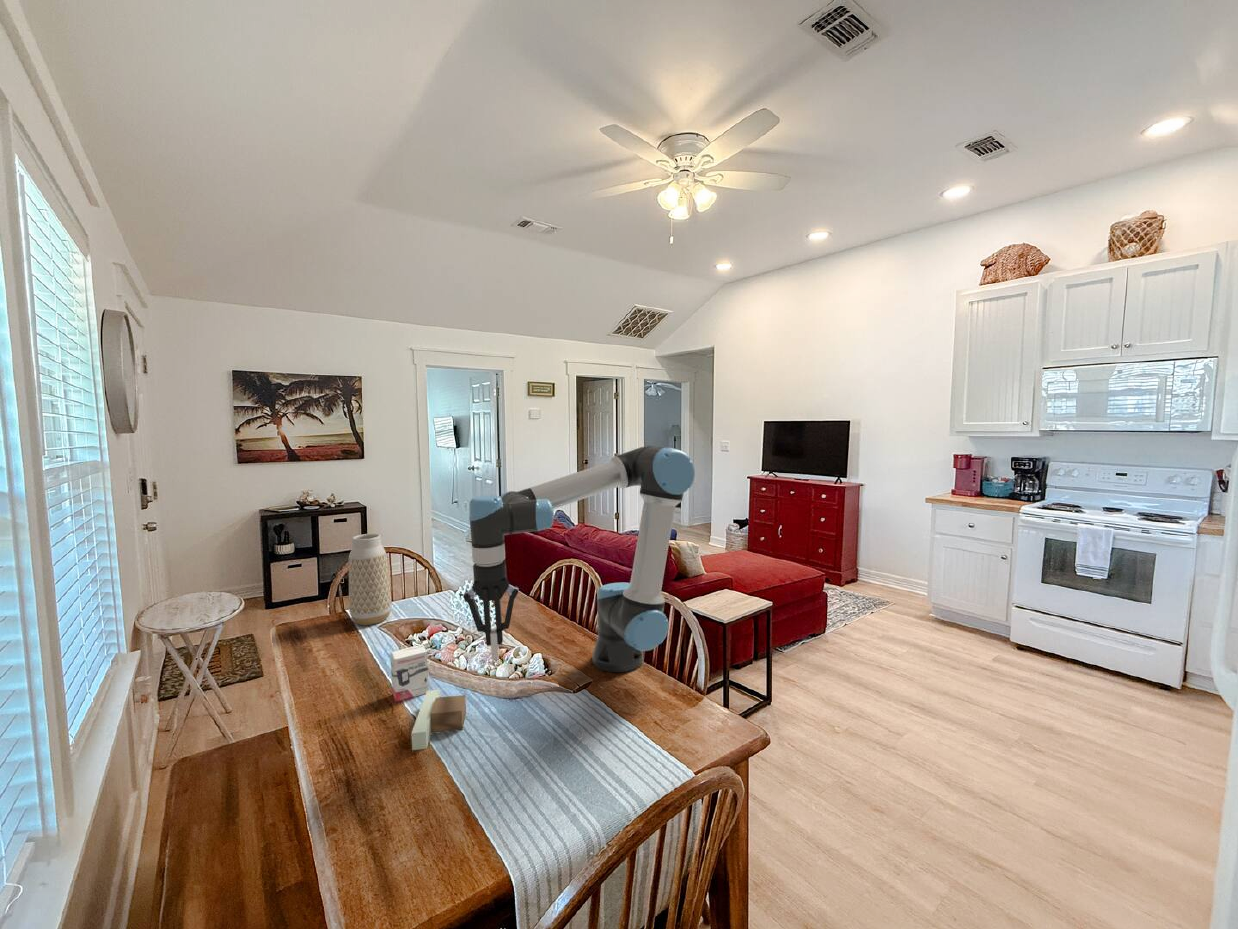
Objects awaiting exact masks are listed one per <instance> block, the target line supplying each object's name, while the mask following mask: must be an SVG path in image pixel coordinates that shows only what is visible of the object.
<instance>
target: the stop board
mask: <svg viewBox="0 0 1238 929" xmlns="http://www.w3.org/2000/svg"><path fill="white" fill-rule="evenodd" d="M440 695H441V694H440V689H434V690H433V689H431V690H429V691H427V692H426V694H424V697H423V701H422V703H421V705H420V709H419V712H418V715H417V716H416V717H417V718H416V719H415V722H414V725H413V728H412V731H411V750H412V751H417V750H419V751H420V750H425V749H428V745H429V742H430V739H431V735H432V733H431V716H430V713H431V711H432V708H433V705H434V702H435V699H436V698H438V697H441V696H440Z"/></svg>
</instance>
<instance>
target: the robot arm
mask: <svg viewBox="0 0 1238 929" xmlns="http://www.w3.org/2000/svg"><path fill="white" fill-rule="evenodd" d="M695 474H696V473H695V467H694V463H693V461H692V460H691V458H690V456H689V455H688V454H687V453H686V452H684V451H682V450H680V449H678V448H673V447H665V446H664V447H662V446H655V445H645V446H641V447H638V448H634V449H632V450H629V451H626V452H624V453H621V454H618V455H615V456H613V457H611V459H610V461H608V462H605V463H603V464H602V463H601V464H598V465H595V466H592V467H589V468H586V469H583V470H581V471H577V472H573V473H571V474H568V475H566V476H562V477H559V478H555V479H553V480H549V481H547V482H543V483H540V484H537V485H534V486H531V487H528V488H525V489H521V490H519V491H515V490H514V491H512V490H511V491H506V492H504V493H502V494H501V495H495V494H494V495H480V496H475V497H473V498H471V500H470V501H469V517H468V519H469V526H470V528H469V529H470V538H471V539H470V540H471V554H472V555H471V556H472V562H473V565H472V569H473V570H472V572H473V584H472V587H471V589H468V590H465V591H464V593H463V599H464V600H465V602H466V603H467V604H468V607H469V609H470V613H471V616H472V618H473V621H474V622H473V623H474V624H475V625H474V626H475V627H476V632H478V633H480V632H483V633H484V634H485V644H486V646H487V647H489V646H490V648H491V661H495V660H496V661H497V660H498V661H499V658H500V648H499V645H503V641H504V637H503V631H504V630H509V628H510V623H511V620H512V613H513V608H514V601H515V599H516V598H517V595H518V594H519V587H518V586H516V585H515V586H513V585H512V584H510V581H509V580H508V577H507V575H508V574H507V564H506V563H507V562H506V560H505V559H506V546H505V536H508V535H509V536H510V535H514V534H523V533H529V532H540V531H544V530H549V529H551V528H552V527H553V524H554V519H555V517H554V516H555V515H554V510H555V509H557V508H560V507H565V506H567V505H570V504H572V503H575V502H578V501H581V500H583V499H587V498H590V497H593V496H595V495H599V494H601V493H604V492H607V491H610V490H613V489H616V488H620V489H622V490H625V489H627V488H629V487H634V486H635V487H637V486H640V489H639V495H640V496H641V498H642V500H643V504H642V511H641V516H640V517H641V518H640V523H639V528H638V529H639V530H638V536H637V541H636V547H635V553H634V559H633V565H632V571H631V576H630V581H629V582H623V581H622V582H612V583H607V584H604V585H601V586H600V587H599V588H598V590H597V596H596V601H597V602H596V603H597V604H596V606H597V607H596V608H597V611H596V612H597V638H596V642H595V643H594V648H593V650H592V664H593V665H594V666H595V667H596V668H597V669H598V670H599V669H600V670H602V671H605V672H609V673H625V672H631V671H634V670H636V669H638V668H639V667H641V666H642V665H643V664H644V652H648V651H652V650H654V649H656V648H657V647H659V645H661V644H662V643H663V642H664V640H665V639H666V638H667V635H668V633H669V629H670V627H669V626H670V625H669V624H670V623H669V620H668V618H667V616H666V614H665V613H664V611H665V610H664V609H665V602H666V599H665V597H664V596H663V595H662V587H663V581H664V577H665V576H664V575H665V569H666V565H667V564H666V563H667V557H668V552H669V551H668V550H669V546H670V540H671V534H672V527H673V522H674V517H675V516H674V515H675V510H676V506H678V505H679V504H680V503H681V502H682V501H683V497H684V493H686V492H687V491H688V489H689V488H690V489H691V487H692V485H693V483H694V481H695ZM506 592H507V594H508V596H509V597H508V603H507V607H506V611H505V612H506V613H505V618H504V622H503V621H502V620H503V619H502V605H501V604H502V603H501V601H502V600H501V599H502V598H503V596H504V595H505V594H506ZM476 595H477V597H478V598H479V599H480V600H482V604H483V605H482V606H483V619H484V621H482V617H481V616H482V615H481V614H480V610H479V608H478V605H477V602H476V600H475V596H476ZM490 601H491V602H494V603H493V604H494V613H495V614H494V615H495V627H496V628H492V621H491V606H490V605H491V604H490ZM483 622H484V623H483Z"/></svg>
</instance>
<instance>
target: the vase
mask: <svg viewBox="0 0 1238 929" xmlns="http://www.w3.org/2000/svg"><path fill="white" fill-rule="evenodd" d="M351 540H352V541H351V542H352V543H351V544H352V548H351V550H350V552H349V555H348V607H349V612H350V617H351V619H352V621H353V622H354V623H356V624H357V625H360V626H373V625H376V624H377V625H378V624H380V623H383V622H384V621H386V619H387V618H388V617H389V615H390V614H391V611H392V592H391V582H390V574H389V573H390V572H389V566H388V558H387V552H386V549H385V548H384V546H383V544H382V540H381V534H379V533H365V534H358V535H355V536H353V537H352V539H351Z"/></svg>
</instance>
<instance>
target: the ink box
mask: <svg viewBox="0 0 1238 929" xmlns="http://www.w3.org/2000/svg"><path fill="white" fill-rule="evenodd" d="M389 654H390V655H389V656H390V671H391V672H390V674H391V686H392V687H391V689H392V696H393V699H394V700H395V702H396V703H398V702H401V701H405V700H408V699H412V698H414V697H415V698H416V697H419V696H422V695H426V692H427V691H430V680H429V679H430V678H429V662H428V661H429V660H428V650H427V648H426V647H425V646H424V645H423V644H419V645H418V644H417V645H413V646H410V647H406V648H402V649H397V650H394V651H392V652H390V653H389Z"/></svg>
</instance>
